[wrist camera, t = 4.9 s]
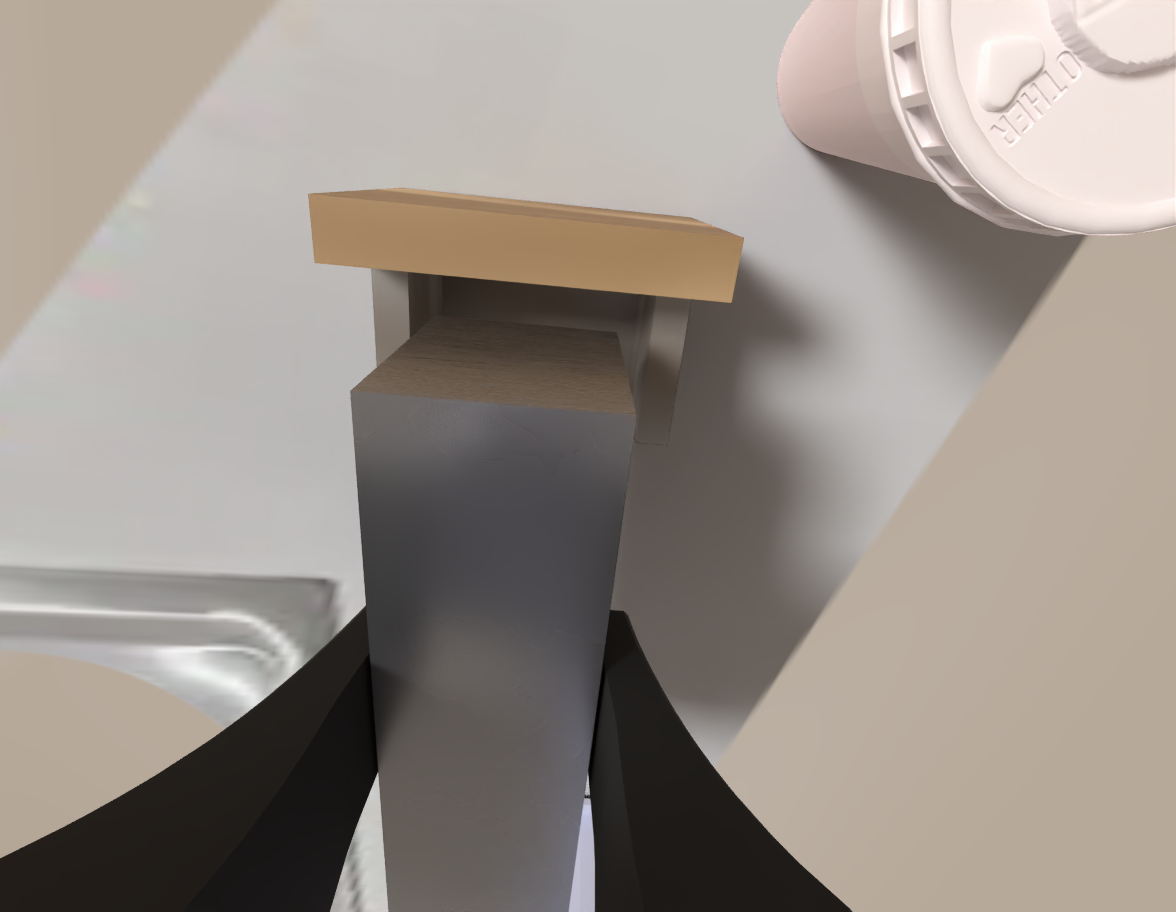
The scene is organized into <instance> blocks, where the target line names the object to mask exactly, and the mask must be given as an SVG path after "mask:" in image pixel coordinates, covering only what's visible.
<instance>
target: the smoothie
mask: <svg viewBox="0 0 1176 912" xmlns="http://www.w3.org/2000/svg"><path fill="white" fill-rule="evenodd" d="M777 93H778V100H779V105H780V109H781V112H782V115H783V117H784V119H785V121H786V123H787V125H788V127H789V128H790V130H791V131H792V132H793V134H794V135H795V136H796V137H797V138H798V139H799V140H800V141H801V142H803V143H804V144H806V145H807V146H809V147H811V148H812V149H815V150H817V151H820V152H824V153H827V154H831V155H835V156H838V157H842V158H846V159H849V160H853V161H856V162H860V163H864V164H867V165H871V166H875V167H878V168H882V169H886V170H889V171H893V172H897V173H900V174H904V175H908V176H911V177H915V178H919V179H922V180H926V181H930V182H933V183H937V184H938V185H939V186H940V187H941V188H942V190H943V191H944V192H945V193H946V194H947V195H948V196H949V197H950V198H951V199H952V200H953V202H955V203H957V204H959V205H961V206H962V207H964V208H966V209H968V210H970V211H972V212H974V213H976V214H977V215H979V216H981V217H983V218H985V219H987V220H989V221H991V222H992V223H994V224H996V225H998V226H1000V227H1002V228H1008V229H1014V230H1020V231H1026V232H1032V233H1038V234H1044V235H1050V236H1056V237H1059V236H1067V235H1076V234H1084V235H1103V236H1115V235H1130V234H1138V233H1144V232H1150V231H1156V230H1162V229H1166V228H1169V227H1173V226H1176V0H813V1H812V3H811V4H810V5H809V7H808V8H807V9H806V11H805V12H804V13H803V15H802V16H801V17H800V19H799V20H798V22H797V23H796V24H795V26H794V28H793V29H792V31H791V33H790V35H789V37H788V39H787V41H786V43H785V46H784V48H783V51H782V55H781V58H780V62H779V67H778V75H777Z"/></svg>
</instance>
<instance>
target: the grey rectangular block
mask: <svg viewBox="0 0 1176 912" xmlns="http://www.w3.org/2000/svg"><path fill="white" fill-rule="evenodd" d="M350 393H351V407H352V420H353V434H354V447H355V461H356V475H357V488H358V502H359V515H360V529H361V543H362V556H363V570H364V583H365V597H366V611H367V624H368V638H369V651H370V665H371V679H372V692H373V706H374V719H375V733H376V747H377V760H378V774H379V787H380V801H381V815H382V828H383V842H384V856H385V869H386V883H387V896H388V910H389V912H569V905H570V898H571V891H572V883H573V876H574V869H575V862H576V854H577V847H578V840H579V832H580V825H581V818H582V810H583V803H584V796H585V789H586V781H587V774H588V767H589V759H590V752H591V745H592V737H593V730H594V723H595V716H596V708H597V701H598V694H599V686H600V679H601V672H602V665H603V657H604V650H605V643H606V635H607V628H608V621H609V613H610V606H611V599H612V592H613V584H614V577H615V570H616V562H617V555H618V548H619V540H620V533H621V526H622V519H623V511H624V504H625V497H626V489H627V482H628V475H629V467H630V460H631V453H632V446H633V438H634V431H635V424H636V416H637V415H636V411H635V407H634V403H633V398H632V394H631V390H630V386H629V381H628V377H627V373H626V369H625V364H624V360H623V356H622V352H621V347H620V343H619V339H618V335H617V332H611V331H600V330H589V329H578V328H567V327H557V326H546V325H535V324H524V323H513V322H503V321H492V320H481V319H470V318H460V317H449V316H438V315H435V316H434V317H433V318H432V319H431V320H430V321H428V322H427V323H426V324H425V325H424V326H423V327H422V328H421V329H420V330H418V331H417V332H416V333H415V334H414V335H413V336H412V337H411V338H409V339H408V340H407V341H406V342H405V343H404V344H403V345H402V346H400V347H399V348H398V349H397V350H396V351H395V352H394V353H393V354H391V355H390V356H389V357H388V358H387V359H386V360H385V361H384V362H382V363H381V364H380V365H379V366H378V367H377V368H376V369H375V370H373V371H372V372H371V373H370V374H369V375H368V376H367V377H366V378H364V379H363V380H362V381H361V382H360V383H359V384H358V385H357V386H356V387H354V388H353V389H352V390H351V391H350Z"/></svg>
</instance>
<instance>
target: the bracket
mask: <svg viewBox="0 0 1176 912" xmlns="http://www.w3.org/2000/svg"><path fill="white" fill-rule="evenodd" d="M308 197H309V208H310V218H311V229H312V239H313V250H314V260H315V263H321V264H332V265H342V266H352V267H363V268H371V272H372V290H373V307H374V325H375V342H376V360H377V367H378V366H379V365H380V364H381V363H382V362H384V361H385V360H386V359H387V358H388V357H389V356H390V355H391V354H393V353H394V352H395V351H396V350H397V349H398V348H399V347H400V346H402V345H403V344H404V343H405V342H406V341H407V340H408V339H409V338H411V337H412V336H413V335H414V334H415V333H416V332H417V331H418V330H420V329H421V328H422V327H423V326H424V325H425V324H426V323H427V322H428V321H430V320H431V319H432V318H433V317H434V316H435V315H438V316H449V317H460V318H470V319H481V320H492V321H503V322H513V323H524V324H535V325H546V326H557V327H567V328H578V329H589V330H600V331H611V332H617V335H618V339H619V343H620V347H621V352H622V356H623V360H624V364H625V369H626V373H627V377H628V381H629V386H630V390H631V394H632V398H633V403H634V407H635V411H636V415H637V416H636V424H635V431H634V436H635V441H636V443H643V444H655V445H667V444H668V438H669V432H670V426H671V420H672V414H673V408H674V402H675V396H676V390H677V383H678V377H679V371H680V365H681V359H682V353H683V347H684V341H685V335H686V329H687V323H688V317H689V311H690V305H691V299H696V300H707V301H717V302H727V303H732V298H733V292H734V287H735V282H736V277H737V272H738V267H739V262H740V256H741V251H742V246H743V241H744V238H743V237H740V236H738V235H735V234H732V233H730V232H727V231H724V230H722V229H719V228H717V227H714V226H711V225H709V224H706V223H704V222H701V221H698V220H696V219H693V218H688V217H679V216H669V215H659V214H649V213H640V212H630V211H620V210H610V209H601V208H591V207H581V206H571V205H562V204H552V203H542V202H532V201H523V200H513V199H503V198H493V197H484V196H474V195H464V194H454V193H445V192H435V191H425V190H415V189H405V188H392V189H376V190H361V191H345V192H329V193H313V194H308Z"/></svg>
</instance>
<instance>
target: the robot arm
mask: <svg viewBox="0 0 1176 912" xmlns="http://www.w3.org/2000/svg"><path fill="white" fill-rule="evenodd" d="M377 773H378V760H377V747H376V733H375V719H374V706H373V692H372V679H371V665H370V651H369V638H368V624H367V611H366V606H365V607H364V608H363V609H362V610H361V611H360V612H359V613H358V614H357V615H356V616H355V617H354V618H353V619H352V620H351V621H350V622H349V623H348V624H347V625H346V626H345V627H344V628H343V629H342V630H341V631H340V632H339V633H338V634H337V635H336V636H335V637H334V638H333V639H332V640H331V641H330V642H329V643H328V644H326V645H325V646H324V647H323V648H322V649H321V650H320V651H319V652H318V653H317V654H316V655H315V656H314V657H313V658H311V659H310V660H309V661H308V662H307V663H306V664H305V665H304V666H303V667H302V668H300V669H299V670H298V671H297V672H296V673H295V674H294V675H292V676H291V677H290V678H289V679H288V680H286V681H285V682H284V683H283V684H282V685H281V686H279V687H278V688H277V689H276V690H275V691H274V692H272V693H271V694H270V695H269V696H268V697H266V698H265V699H264V700H263V701H261V702H260V703H259V704H258V705H256V706H255V707H254V708H253V709H251V710H250V711H249V712H247V713H246V714H245V715H243V716H242V717H241V718H240V719H238V720H237V721H235V722H234V723H233V724H231V725H230V726H229V727H227V728H226V729H225V730H223V731H222V732H220V733H219V734H218V735H216V736H215V737H214V738H212V739H211V740H209V741H208V742H206V743H205V744H203V745H202V746H200V747H199V748H197V749H196V750H194V751H193V752H191V753H189V754H188V755H187V756H185V757H183V758H182V759H180V760H179V761H177V762H176V763H174V764H172V765H171V766H169V767H168V768H166V769H165V770H163V771H162V772H160V773H159V774H157V775H155V776H154V777H152V778H150V779H149V780H147V781H145V782H144V783H142V784H140V785H139V786H137V787H135V788H133V789H132V790H130V791H128V792H127V793H125V794H123V795H121V796H120V797H118V798H116V799H114V800H113V801H111V802H109V803H107V804H105V805H104V806H102V807H100V808H98V809H96V810H94V811H93V812H91V813H89V814H87V815H85V816H84V817H82V818H80V819H78V820H76V821H74V822H72V823H71V824H69V825H67V826H65V827H63V828H61V829H59V830H57V831H55V832H53V833H51V834H49V835H47V836H45V837H43V838H41V839H39V840H37V841H35V842H33V843H31V844H29V845H27V846H25V847H22V848H20V849H19V850H16V851H14V852H12V853H10V854H8V855H6V856H5V857H2V858H0V912H330V909H331V906H332V902H333V899H334V896H335V892H336V889H337V885H338V882H339V879H340V875H341V872H342V869H343V865H344V862H345V858H346V855H347V852H348V849H349V846H350V843H351V840H352V837H353V835H354V832H355V829H356V826H357V824H358V821H359V818H360V816H361V813H362V811H363V808H364V806H365V803H366V801H367V798H368V796H369V793H370V791H371V788H372V786H373V783H374V780H375V778H376V775H377ZM588 776H589V788H590V798H584V803H583V810H582V818H581V825H580V832H579V840H578V847H577V854H576V862H575V869H574V876H573V883H572V891H571V898H570V905H569V912H852V911H851V910H850V908H848V907H847V906H846V905H845V904H844V903H843V902H842V901H841V900H840V899H838V898H837V897H836V896H835V895H834V894H833V893H832V892H831V891H830V890H828V889H827V888H826V887H825V886H824V885H823V884H822V883H821V882H819V881H818V880H817V879H816V878H815V877H814V876H813V875H812V874H811V873H809V872H808V871H807V870H806V869H805V868H804V867H803V866H802V865H800V863H799V862H798V861H797V860H796V859H795V858H794V857H793V856H792V855H791V854H790V853H788V851H787V850H786V849H785V848H784V847H783V846H782V845H781V844H780V843H779V842H778V841H777V840H776V839H775V838H774V837H773V836H772V835H771V834H770V833H769V832H768V831H767V830H766V828H765V827H764V826H763V825H762V824H761V823H760V822H759V821H758V819H757V818H756V817H755V816H754V815H753V814H752V813H751V811H750V810H749V809H748V808H747V807H746V806H745V805H744V804H743V802H742V801H741V800H740V799H739V798H738V797H737V796H736V795H735V793H734V792H733V791H732V790H731V789H730V787H729V786H728V785H727V784H726V782H725V781H724V780H723V779H722V777H721V776H720V775H719V773H718V772H717V771H716V770H715V768H714V767H713V766H712V764H711V763H710V762H709V760H708V759H707V758H706V756H705V755H704V754H703V752H702V751H701V749H700V748H699V747H698V745H697V744H696V742H695V741H694V739H693V738H692V736H691V735H690V733H689V732H688V730H687V729H686V727H685V726H684V724H683V723H682V721H681V720H680V718H679V716H678V715H677V713H676V712H675V710H674V708H673V707H672V705H671V703H670V702H669V700H668V698H667V697H666V695H665V693H664V691H663V689H662V688H661V686H660V684H659V682H658V680H657V678H656V677H655V675H654V673H653V671H652V669H651V667H650V665H649V663H648V661H647V659H646V657H645V655H644V653H643V651H642V649H641V647H640V644H639V642H638V640H637V638H636V635H635V633H634V630H633V628H632V625H631V623H630V620H629V617H628V615H627V614H626V613H625V612H624V611H615V610H610V613H609V621H608V628H607V635H606V643H605V650H604V657H603V665H602V672H601V679H600V686H599V694H598V701H597V708H596V716H595V723H594V730H593V737H592V745H591V752H590V759H589V767H588Z"/></svg>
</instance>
